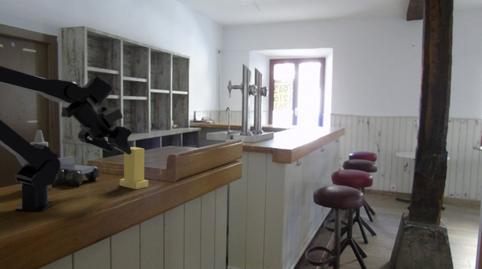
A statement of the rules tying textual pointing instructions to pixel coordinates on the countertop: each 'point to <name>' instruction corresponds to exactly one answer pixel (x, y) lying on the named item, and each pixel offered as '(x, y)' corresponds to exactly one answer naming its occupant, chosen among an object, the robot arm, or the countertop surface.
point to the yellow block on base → (134, 169)
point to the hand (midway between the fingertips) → (120, 152)
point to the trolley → (75, 172)
